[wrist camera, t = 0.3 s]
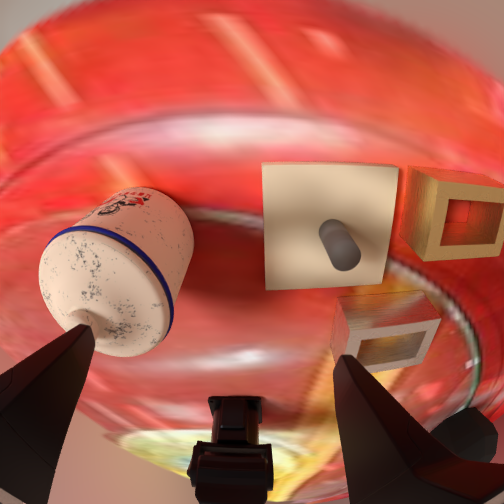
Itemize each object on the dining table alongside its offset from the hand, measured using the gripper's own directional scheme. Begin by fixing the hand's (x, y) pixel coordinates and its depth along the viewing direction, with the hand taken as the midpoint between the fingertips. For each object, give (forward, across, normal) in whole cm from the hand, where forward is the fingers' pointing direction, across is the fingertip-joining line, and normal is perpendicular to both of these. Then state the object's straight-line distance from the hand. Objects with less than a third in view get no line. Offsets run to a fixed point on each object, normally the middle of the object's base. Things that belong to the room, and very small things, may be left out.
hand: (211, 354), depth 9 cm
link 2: (+14, -18, -4) cm, 23 cm away
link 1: (+14, -15, +9) cm, 22 cm away
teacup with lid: (+14, +8, +4) cm, 17 cm away
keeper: (+14, -7, 0) cm, 16 cm away
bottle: (+15, -49, +39) cm, 64 cm away
